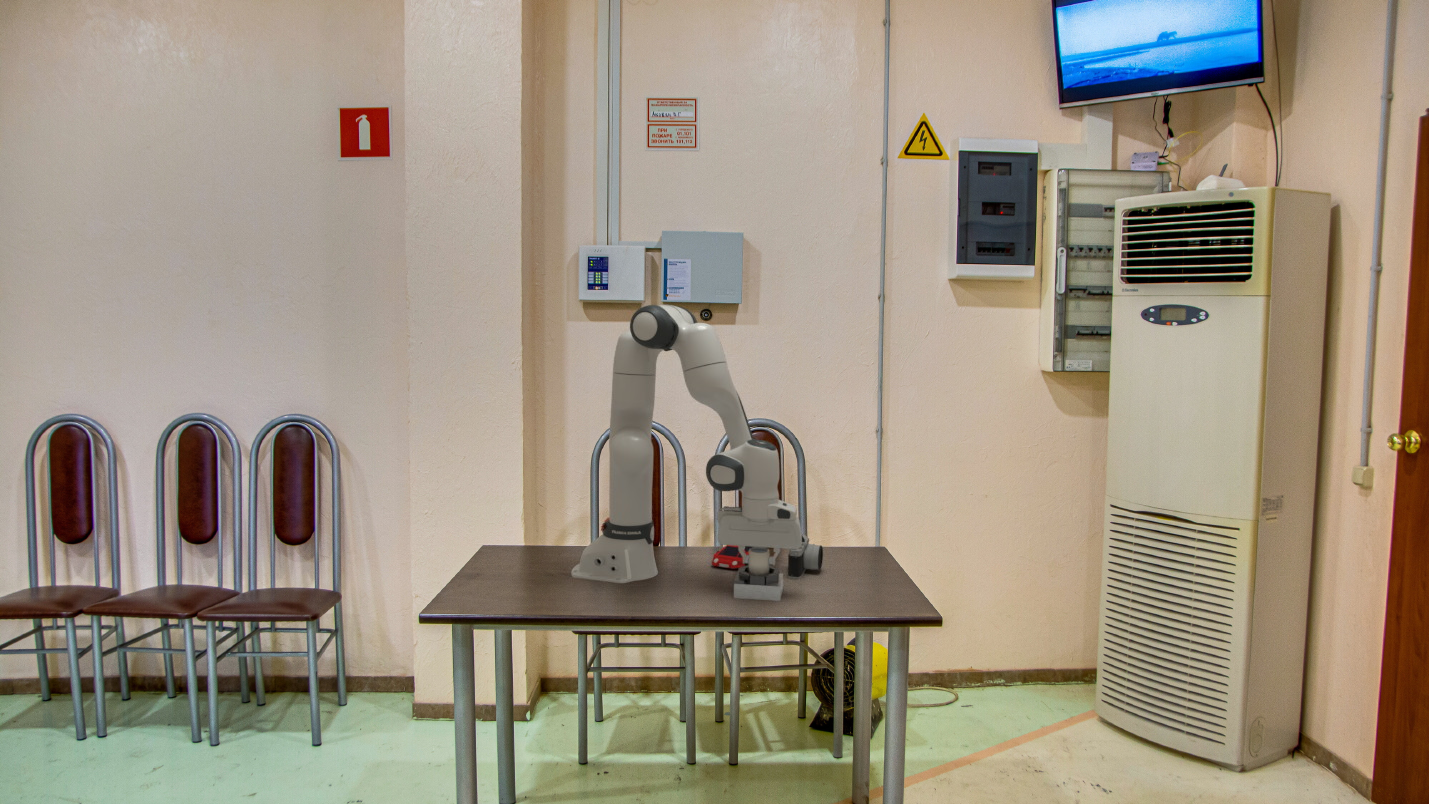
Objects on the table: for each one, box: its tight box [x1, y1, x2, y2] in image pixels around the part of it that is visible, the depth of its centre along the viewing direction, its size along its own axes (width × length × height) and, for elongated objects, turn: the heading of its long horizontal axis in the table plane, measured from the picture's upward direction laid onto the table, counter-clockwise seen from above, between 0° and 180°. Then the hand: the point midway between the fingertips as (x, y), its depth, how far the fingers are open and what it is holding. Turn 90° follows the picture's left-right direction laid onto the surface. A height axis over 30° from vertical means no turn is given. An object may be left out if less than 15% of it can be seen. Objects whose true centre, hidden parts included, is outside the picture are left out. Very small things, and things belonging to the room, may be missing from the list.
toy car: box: [711, 545, 752, 570], centre depth 218 cm, size 10×20×5 cm, turn 159°
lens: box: [749, 547, 771, 575], centre depth 189 cm, size 5×5×6 cm
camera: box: [787, 533, 824, 580], centre depth 208 cm, size 16×9×10 cm, turn 164°
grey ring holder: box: [733, 565, 784, 602], centre depth 190 cm, size 11×10×6 cm
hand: (759, 564), depth 189 cm, fingers closed on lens, 5 cm apart
